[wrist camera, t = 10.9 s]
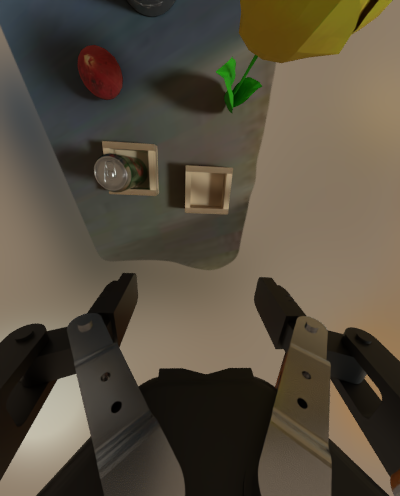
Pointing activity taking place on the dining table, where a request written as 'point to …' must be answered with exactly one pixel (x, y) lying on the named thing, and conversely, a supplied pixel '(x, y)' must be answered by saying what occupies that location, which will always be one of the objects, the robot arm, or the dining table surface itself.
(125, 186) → the soda can
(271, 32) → the flower
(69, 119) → the dining table surface
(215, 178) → the oak endcap
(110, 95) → the onion
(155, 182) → the oak endcap
